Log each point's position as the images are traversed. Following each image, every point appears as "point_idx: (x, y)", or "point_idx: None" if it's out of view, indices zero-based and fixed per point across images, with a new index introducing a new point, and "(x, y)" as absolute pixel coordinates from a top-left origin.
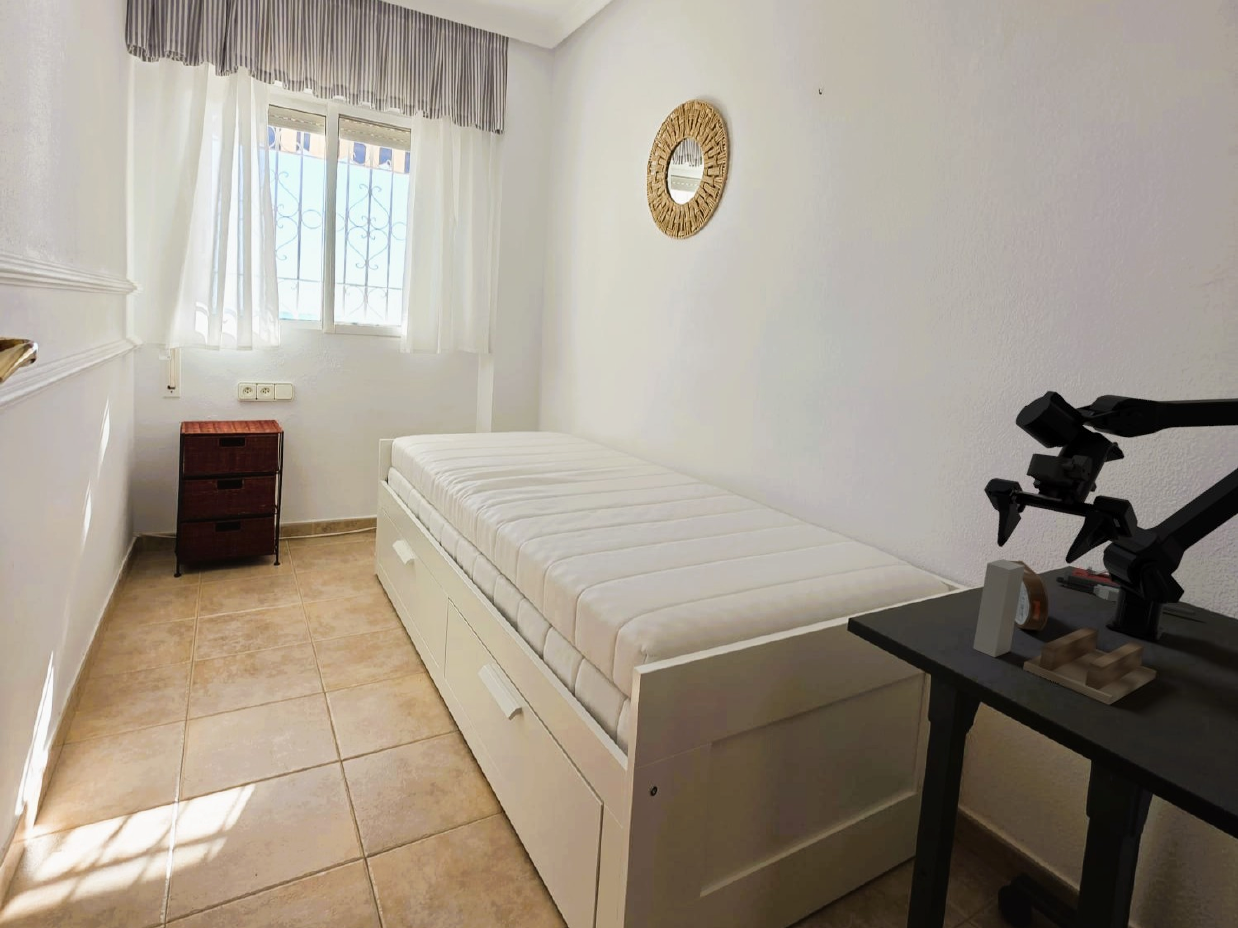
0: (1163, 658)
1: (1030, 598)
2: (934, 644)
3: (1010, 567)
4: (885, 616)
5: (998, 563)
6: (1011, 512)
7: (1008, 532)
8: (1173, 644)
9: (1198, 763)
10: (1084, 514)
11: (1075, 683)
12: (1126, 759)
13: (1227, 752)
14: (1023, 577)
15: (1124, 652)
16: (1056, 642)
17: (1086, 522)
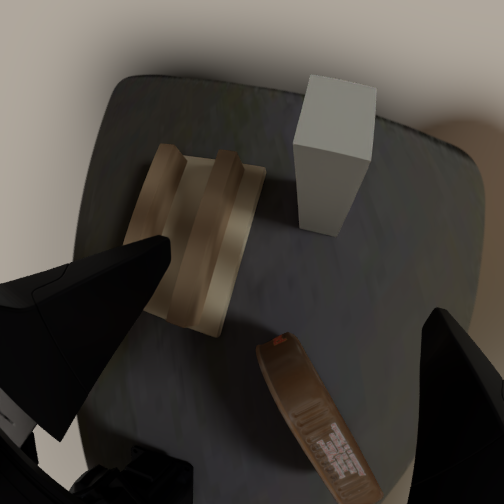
0: (119, 388)
1: (294, 340)
2: (388, 162)
3: (318, 94)
4: (475, 216)
5: (357, 106)
6: (484, 464)
7: (436, 392)
8: (120, 449)
9: (116, 116)
10: (20, 453)
11: (198, 157)
12: (163, 76)
13: (92, 155)
14: (325, 396)
15: (131, 233)
16: (219, 182)
17: (3, 300)
